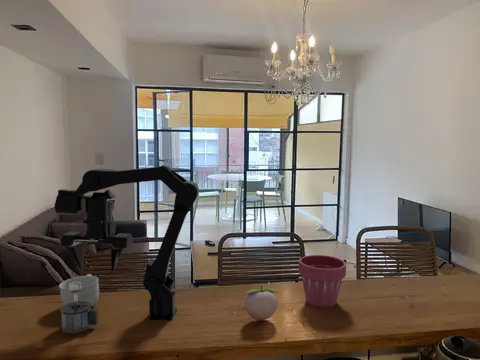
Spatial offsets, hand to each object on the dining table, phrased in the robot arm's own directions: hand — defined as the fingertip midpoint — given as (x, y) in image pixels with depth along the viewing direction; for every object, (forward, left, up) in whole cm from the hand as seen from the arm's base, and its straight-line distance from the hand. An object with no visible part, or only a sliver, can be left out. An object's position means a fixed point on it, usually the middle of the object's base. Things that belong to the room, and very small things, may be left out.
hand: (97, 269), depth 111 cm
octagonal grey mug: (+3, +7, -13) cm, 15 cm away
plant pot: (-64, -15, -14) cm, 67 cm away
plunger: (+3, +7, -9) cm, 12 cm away
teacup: (+8, -7, -14) cm, 17 cm away
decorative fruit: (-46, 0, -14) cm, 48 cm away
